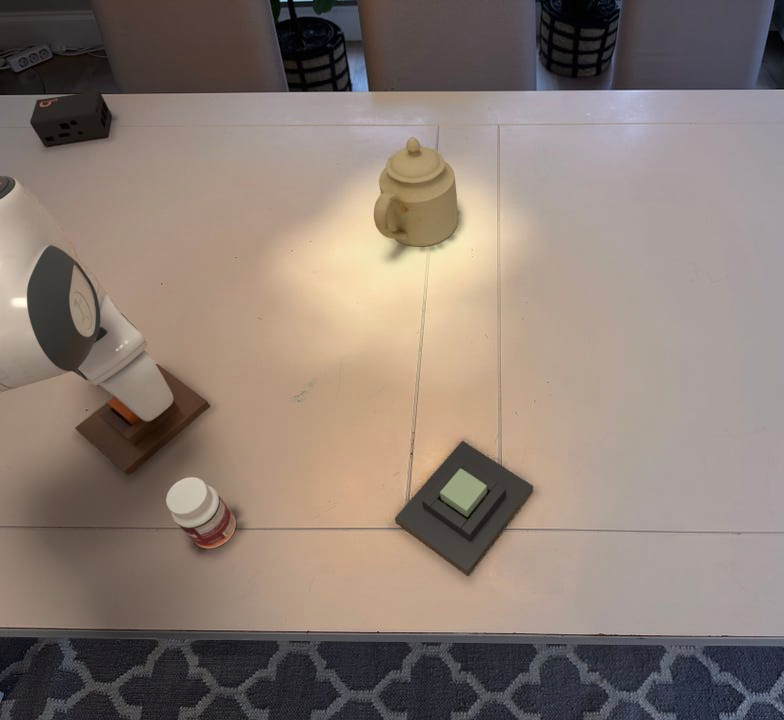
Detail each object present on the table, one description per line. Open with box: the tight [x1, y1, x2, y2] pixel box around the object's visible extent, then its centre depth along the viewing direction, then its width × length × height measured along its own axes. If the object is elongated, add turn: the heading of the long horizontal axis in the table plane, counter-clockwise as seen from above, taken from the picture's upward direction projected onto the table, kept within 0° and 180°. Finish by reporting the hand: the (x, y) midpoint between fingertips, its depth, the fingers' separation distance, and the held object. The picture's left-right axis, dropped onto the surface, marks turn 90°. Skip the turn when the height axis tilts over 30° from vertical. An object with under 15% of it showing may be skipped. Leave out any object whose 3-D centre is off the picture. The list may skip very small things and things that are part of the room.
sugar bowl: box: [373, 136, 459, 247], centre depth 96 cm, size 15×11×15 cm
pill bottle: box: [165, 476, 237, 549], centre depth 70 cm, size 5×5×8 cm
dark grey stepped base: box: [394, 440, 534, 577], centre depth 73 cm, size 12×10×3 cm
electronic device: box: [29, 90, 112, 147], centre depth 119 cm, size 7×11×5 cm
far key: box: [107, 396, 141, 425], centre depth 80 cm, size 4×4×2 cm
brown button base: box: [74, 363, 211, 477], centre depth 82 cm, size 12×10×3 cm
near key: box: [440, 468, 487, 517], centre depth 72 cm, size 4×4×2 cm
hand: (128, 395), depth 79 cm, fingers closed
